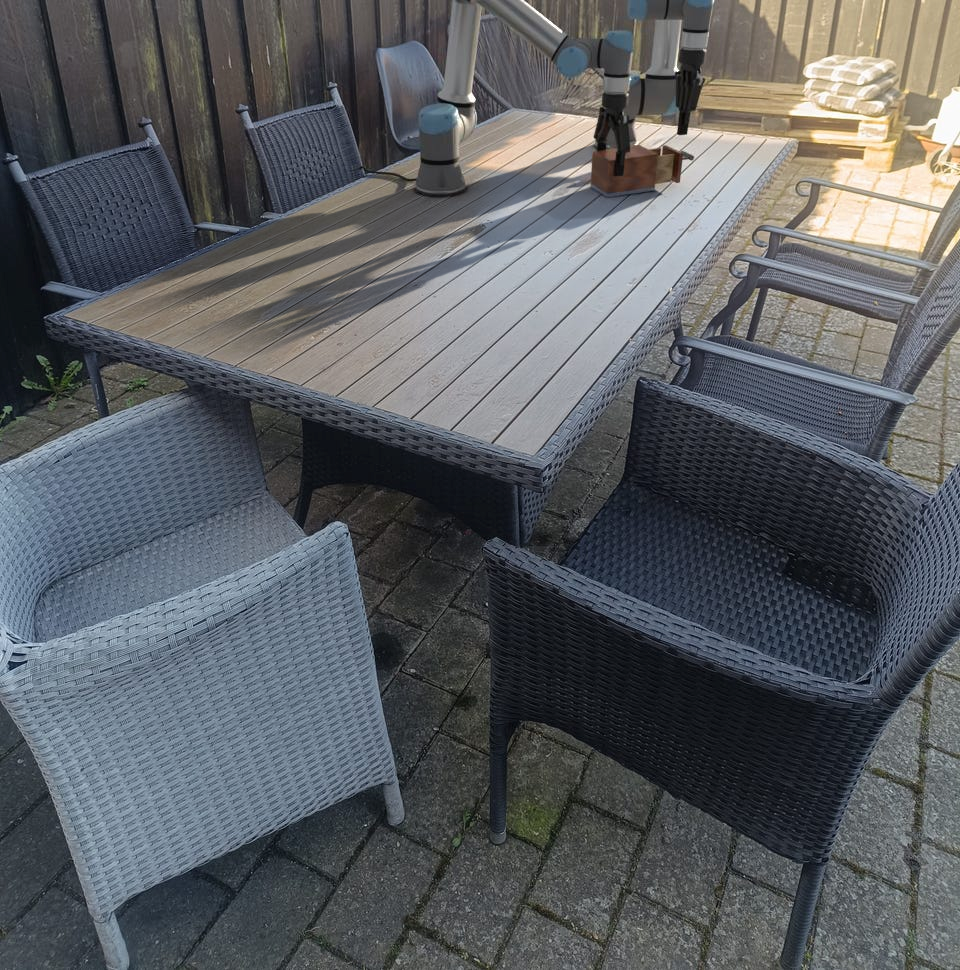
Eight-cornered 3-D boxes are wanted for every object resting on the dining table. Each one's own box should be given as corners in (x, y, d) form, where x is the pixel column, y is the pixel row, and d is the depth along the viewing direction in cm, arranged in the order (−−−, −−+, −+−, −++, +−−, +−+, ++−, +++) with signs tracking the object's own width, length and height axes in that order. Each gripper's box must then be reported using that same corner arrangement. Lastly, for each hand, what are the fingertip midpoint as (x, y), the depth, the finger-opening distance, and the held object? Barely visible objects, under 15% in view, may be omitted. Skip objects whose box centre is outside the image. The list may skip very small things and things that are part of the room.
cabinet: (636, 180, 265) (639, 144, 259) (654, 190, 257) (658, 154, 250) (590, 186, 261) (592, 151, 255) (607, 197, 252) (609, 160, 246)
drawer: (678, 171, 268) (681, 143, 263) (695, 180, 260) (698, 151, 255) (621, 180, 263) (623, 150, 257) (637, 189, 255) (639, 159, 250)
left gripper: (647, 99, 233) (639, 179, 246) (608, 83, 251) (602, 159, 264) (623, 101, 231) (616, 182, 244) (585, 85, 249) (580, 161, 262)
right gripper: (717, 51, 238) (704, 138, 252) (692, 43, 248) (681, 128, 262) (694, 52, 236) (682, 140, 250) (670, 45, 246) (660, 130, 260)
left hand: (609, 170), depth 254 cm, fingers closed on cabinet, 11 cm apart
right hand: (681, 134), depth 256 cm, fingers closed
